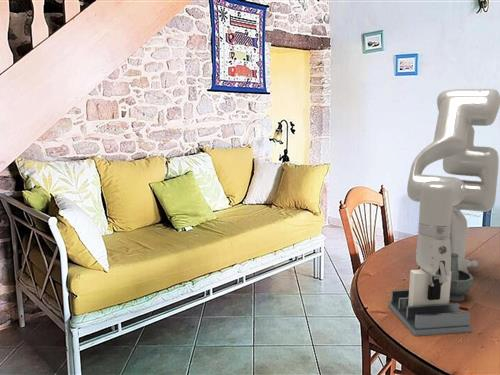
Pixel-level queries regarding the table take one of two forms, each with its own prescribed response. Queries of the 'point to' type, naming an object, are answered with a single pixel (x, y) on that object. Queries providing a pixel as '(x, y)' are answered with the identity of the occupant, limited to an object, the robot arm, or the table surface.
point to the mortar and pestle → (459, 280)
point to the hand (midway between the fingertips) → (429, 294)
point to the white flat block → (426, 289)
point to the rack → (429, 316)
